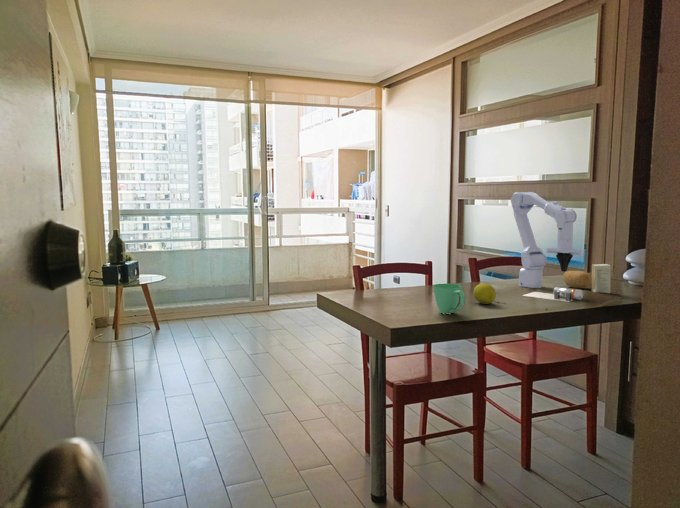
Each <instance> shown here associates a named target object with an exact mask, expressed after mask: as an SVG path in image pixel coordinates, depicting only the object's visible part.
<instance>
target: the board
mask: <svg viewBox="0 0 680 508" xmlns="http://www.w3.org/2000/svg"><path fill="white" fill-rule="evenodd" d="M522 296H524V297H530V298H537V299H544V300H545V299H546V300H554V301H560V302H568V303H569V302H572V301H574V300H575V299H571V301H566V298H560V299H554V295H553V293H546V292H541V291H540V292H539V291H531V292H529V293H526V294H523V295H522ZM575 301H576V300H575Z"/></svg>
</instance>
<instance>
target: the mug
mask: <svg viewBox="0 0 680 508" xmlns="http://www.w3.org/2000/svg"><path fill="white" fill-rule="evenodd" d="M432 288H433V294H434V299H435V302H436V306H437V308H438V311H439V313H440V312H441V313H457V312H459V311H461V309H462V308H463V306H464V305H465V304H466V303H465V302H466V295H465V292H464V291H463V290H462V286H461V285H460V284H456V283H437V284H436V283H435V284H433V286H432ZM441 313H440V314H441Z"/></svg>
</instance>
